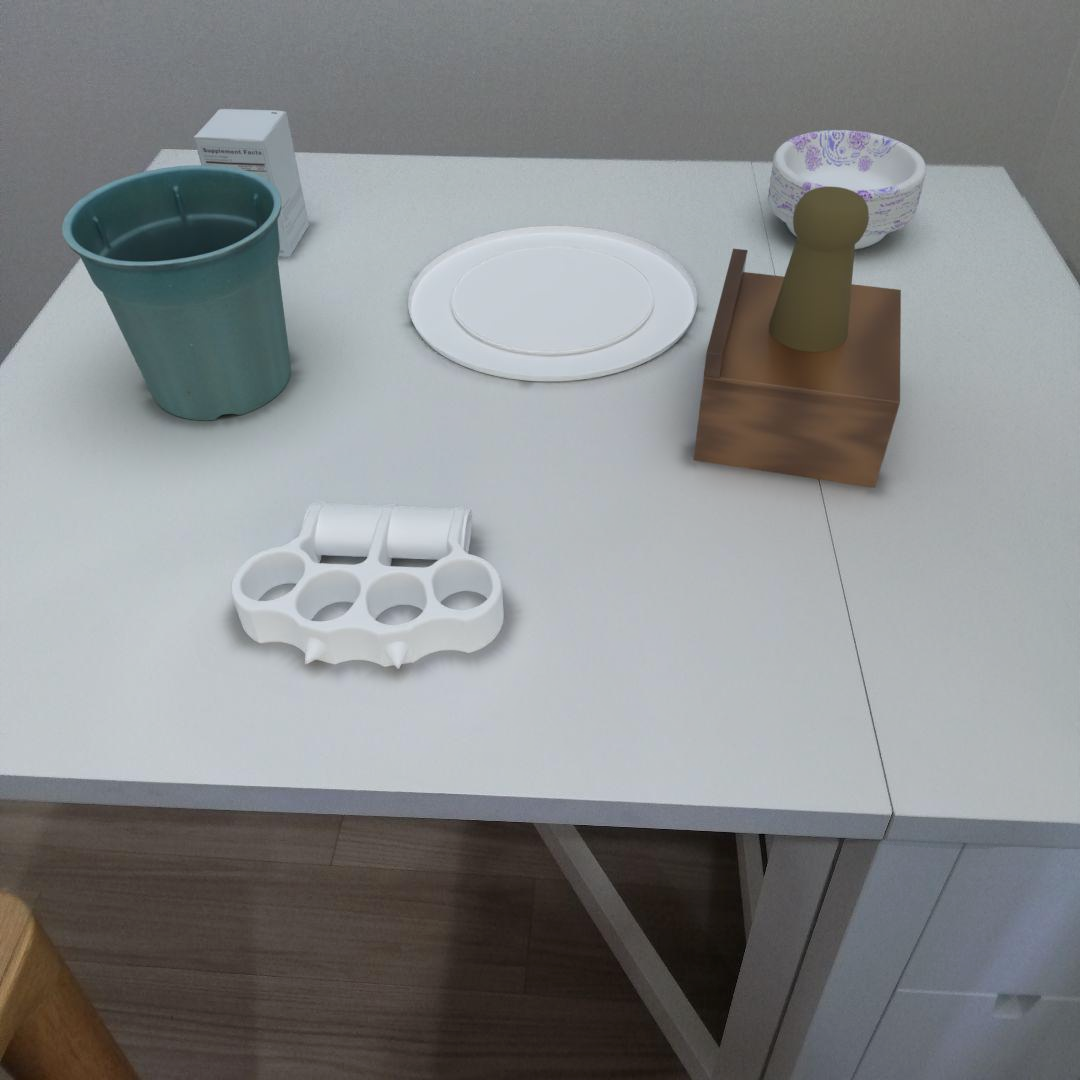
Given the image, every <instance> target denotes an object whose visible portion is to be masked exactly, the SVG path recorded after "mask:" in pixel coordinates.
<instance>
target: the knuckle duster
mask: <svg viewBox="0 0 1080 1080" xmlns="http://www.w3.org/2000/svg"><path fill="white" fill-rule="evenodd" d="M472 527H473V511H472V509H471V508H468V506H464V505H458V506H457V507H456V508H455V507H432V506H409V505H408V506H407V505H398V504H397V503H387V504H386V505H384V504H383V505H382V504H381V505H380V504H358V503H357V504H356V503H334V502H333V503H331V502H330V503H329V502H328V501H326V500H318V501H316V502H312V503H310V505H309V506H308V507H307V509H306V512H305V514H304V517H303V520H302V524H301V530H300V533H299V535H298V536H296V537H295V538H293V539H292V540H291V541H289V542H287V544H285V545H282V546H274V547H270V548H266V549H265V550H262V551H260V552H258V553H256V554H254V555H253V556H250V557H249V558H248V559H246V560H245V561H244V562H243V563H242V564H241V565H240V566H239V567H238V569H237V570H236V572H235V573H234V575H233V578H232V580H231V584H230V594H231V598H232V601H233V604H234V606H235V609H236V613H237V615H238V618H239V620H240V624H241V626H242V629H243V630H244V632H245V633H246V634H247V636H248V637H249V638H250V639H251V640H253V641H255V642H256V643H259V644H266V643H283V644H284V643H285V644H287V645H288V644H289V645H291V646H294V647H296V648H298V650H300V651H302V652H303V653H304V666H306V665H308V664H310V663H311V662H314V661H315V660H316V661H320V662H324V663H327V664H331V665H333V666H334V665H337V664H340V663H344V662H350V661H366V662H370V663H375V664H377V665H378V666H382V667H383V668H387V667H393V666H395V667H396V669H397V670H399V669H400V668H401V666H402V665H406V664H413V663H415V662H417V661H418V660H420V659H422V658H424V657H426V656H427V655H431V654H433V653H436V652H441V651H443V652H444V651H457V652H463V653H466V654H471V653H474V652H477V651H479V650H481V649H483V648H485V647H486V646H488V645H489V644H490V643H492V642H493V641H494V640H495V638H496V637H497V636H498V635H499V633H500V632H501V629H502V628H503V624H504V619H505V610H504V594H503V583H502V579H501V576H500V573H499V572H498V570H497V569H496V568H495V566H493V565H492V564H491V563H490V562H489V561H487V560H485V559H484V558H482V557H480V556H477V555H475V554H470V553H469V551H470V546H471V545H470V544H471V537H472ZM323 556H336V557H357V558H361V557H362V558H366V559H365V560H363V561H362V562H360V563H356V564H349V563H347V564H345V563H325V562H324V563H323V562H321V560H322V557H323ZM393 559H410V560H436V561H434V563H432V564H431V565H429V566H425V567H416V566H394V565H392V562H393ZM287 584H293V585H295V586H294V587H293V588H292V589H291V590H290V591H289V592H287V593H286V594H284V595H282V596H280V597H278V598H275V599H270V600H261V599H262V597H263V596H264V595H265V594H266V593H267V592H269V591H270V590H272V589H274V588H276V587H278V586H282V585H287ZM460 592H472V593H476V594H479V595H481V596H482V597H484V598H486V600H484V602H482V603H480V604H479V605H476V606H474V607H472V608H467V609H457V608H451V607H448V606H446V605H444V604H442V602H443V601H444V600H445V599H446V598H448V597H449V596H451V595H453V594H457V593H460ZM338 603H348V604H349V603H350V604H351V606H350V608H349V609H348V610H347V611H346V612H344V614H342V615H340V616H338V617H335V618H333V619H330V620H322V621H321V620H320V621H319V620H316V621H315V620H313V618H315V616H316V615H317V613H319V612H320V611H322V609H324V608H325V607H327V606H331V605H333V604H338ZM397 606H412V607H415V608H417V609H419V610H421V611H422V612H420V614H419V615H418V616H416V617H415V618H413V619H412V620H409V621H407V622H404V623H398V624H386V623H384V622H381V621H378V620H376V619H377V618H378V617H379V616H380V615H381V614H382V613H383V612H385V611H386V610H388V609H391V608H393V607H397Z"/></svg>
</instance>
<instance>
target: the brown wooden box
mask: <svg viewBox="0 0 1080 1080" xmlns="http://www.w3.org/2000/svg"><path fill="white" fill-rule="evenodd" d="M747 257H748V249H741V248H732V252H731V256H730V260H729V263H728V267H727V271H726V275H725V279H724V282H723V286H722V290H721V294H720V298H719V302H718V307H717V310H716V313H715V318H714V322H713V326H712V329H711V333H710V337H709V340H708V344H707V348H706V353H705V361H704V369H703V376H702V377H703V378H702V385H701V393H700V394H701V395H700V401H699V402H700V403H699V409H698V410H699V411H698V418H697V426H696V435H695V443H694V452H693V461H695V462H701V463H702V462H703V463H708V464H716V465H722V466H729V467H735V468H741V469H749V470H755V471H761V472H768V473H773V474H780V475H787V476H794V477H801V478H806V479H807V478H808V479H812V480H813V479H814V480H821V481H825V482H826V481H828V482H833V483H840V484H846V485H854V486H859V487H866V488H872V489H874V488H876V486H877V482H878V479H879V475H880V472H881V469H882V465H883V463H884V459H885V455H886V452H887V449H888V445H889V442H890V438H891V436H892V431H893V428H894V425H895V421H896V418H897V414H898V411H899V409H900V405H901V341H902V340H901V337H902V336H901V335H902V333H901V332H902V331H901V330H902V329H901V327H902V325H901V323H902V322H901V320H902V317H901V316H902V314H901V313H902V290H901V289H897V288H889V287H880V286H879V287H878V286H871V285H863V284H854V283H852V286H851V298H850V311H849V323H848V335H847V339H846V340H845V342H844V343H843V344H842V345H840V346H839V347H837V348H835V349H832V350H828V351H822V352H807V351H800V350H796V349H792V348H789V347H787V346H785V345H783V344H781V343H779V342H778V341H777V340H775V339H774V338H773V337H772V335H771V333H770V332H769V323H770V319H771V316H772V313H773V310H774V307H775V304H776V301H777V298H778V295H779V292H780V289H781V286H782V283H783V280H784V277H785V275H784V276H783V275H774V274H767V273H766V274H765V273H757V272H748V271H746V264H747Z"/></svg>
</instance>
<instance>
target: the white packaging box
mask: <svg viewBox="0 0 1080 1080" xmlns="http://www.w3.org/2000/svg"><path fill="white" fill-rule="evenodd" d="M193 140H194V143H195V147H196V150H197V155H198V158H199V162H200V165H212V166H224V167H232V168H237V169H242V170H246V171H249V172H252V173H255V174H257V175H260V176H261V177H263V178H265V179H267V180H268V181H270V182H271V183H272V184H273V185H274V186H275V187H276V188H277V190H278V191H279V193H280V196H281V212H280V215H279V217H278V219H277V220H278V232H279V242H280V251H279V256H278V257H283V258H284V257H285V258H288V257H289V258H290V257H292V254H293V253H294V251H295V250H296V248H297V246H298V244H299V243H300V241H301V239H302V238H303V236H304V235H305V233H306V232H307V230H308V228H309V227H310V222H309V216H308V212H307V207H306V202H305V198H304V193H303V188H302V183H301V178H300V172H299V168H298V163H297V157H296V153H295V148H294V143H293V137H292V132H291V128H290V122H289V118H288V113H287V112H286V111H284V110H277V109H276V110H275V109H241V108H239V109H238V108H220V109H217V111H216V112H215V113H214V114H213V116H212V117H211V118H210V119H209V120H208V121H207V122H206V123H205V125H203V127H202V128H201V129H200V130H199V131H198V132H197V133H196V134H195V135H194V136H193Z"/></svg>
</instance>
